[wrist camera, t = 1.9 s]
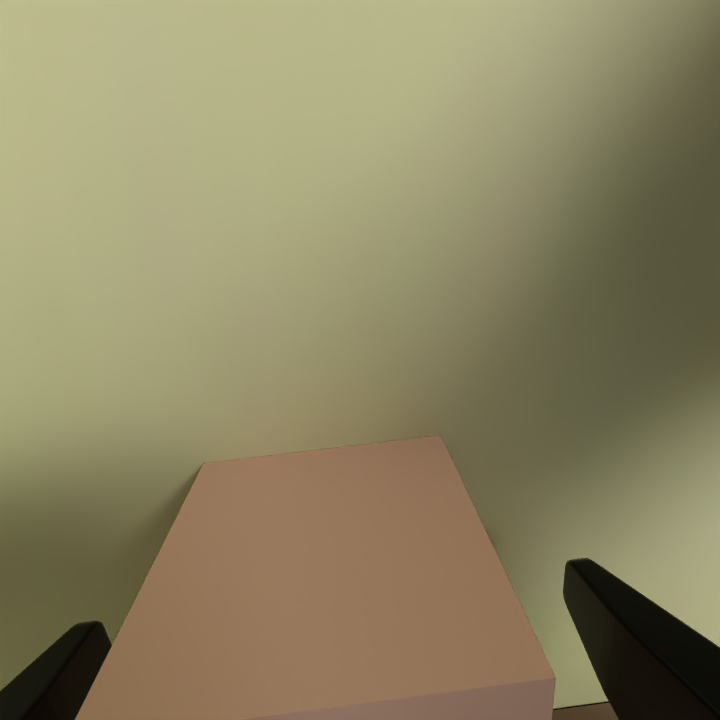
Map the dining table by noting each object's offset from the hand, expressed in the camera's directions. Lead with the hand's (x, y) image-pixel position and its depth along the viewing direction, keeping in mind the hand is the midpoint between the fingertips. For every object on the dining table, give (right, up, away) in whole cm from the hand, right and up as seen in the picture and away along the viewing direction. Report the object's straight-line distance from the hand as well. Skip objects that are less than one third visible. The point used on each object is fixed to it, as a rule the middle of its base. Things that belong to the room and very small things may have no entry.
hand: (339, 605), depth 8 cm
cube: (0, +1, +2) cm, 2 cm away
